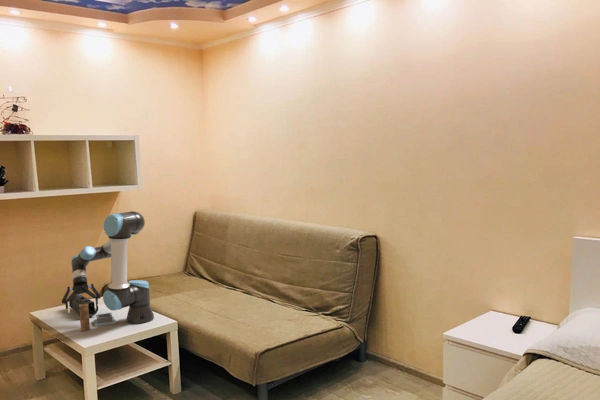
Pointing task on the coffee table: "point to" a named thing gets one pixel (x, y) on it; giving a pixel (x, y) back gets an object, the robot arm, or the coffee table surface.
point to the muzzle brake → (81, 299)
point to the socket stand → (104, 319)
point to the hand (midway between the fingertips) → (82, 311)
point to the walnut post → (84, 317)
